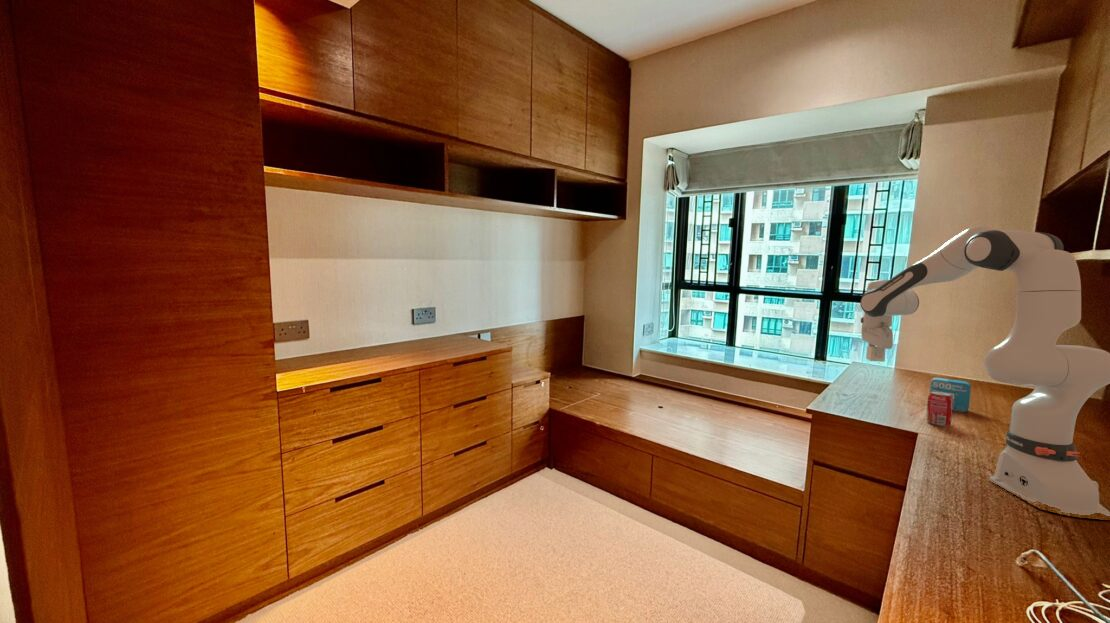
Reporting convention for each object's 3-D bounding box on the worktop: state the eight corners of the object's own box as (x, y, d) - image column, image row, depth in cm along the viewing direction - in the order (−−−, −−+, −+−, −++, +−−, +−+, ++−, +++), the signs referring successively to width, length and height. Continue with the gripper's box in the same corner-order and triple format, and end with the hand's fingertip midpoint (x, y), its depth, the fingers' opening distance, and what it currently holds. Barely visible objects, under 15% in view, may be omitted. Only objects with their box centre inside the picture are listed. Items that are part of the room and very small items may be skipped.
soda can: (940, 420, 163) (943, 390, 161) (956, 427, 156) (959, 396, 154) (920, 420, 163) (923, 390, 162) (935, 427, 156) (938, 395, 155)
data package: (928, 406, 179) (930, 378, 178) (929, 403, 182) (932, 376, 181) (967, 413, 170) (970, 384, 169) (968, 410, 173) (971, 382, 172)
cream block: (884, 361, 164) (885, 348, 164) (870, 360, 166) (871, 348, 165) (879, 359, 169) (880, 346, 168) (866, 358, 170) (867, 346, 169)
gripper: (899, 324, 155) (896, 362, 156) (877, 318, 174) (874, 351, 175) (879, 324, 157) (876, 361, 158) (859, 318, 176) (857, 350, 177)
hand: (875, 355), depth 167 cm, fingers closed on cream block, 5 cm apart
